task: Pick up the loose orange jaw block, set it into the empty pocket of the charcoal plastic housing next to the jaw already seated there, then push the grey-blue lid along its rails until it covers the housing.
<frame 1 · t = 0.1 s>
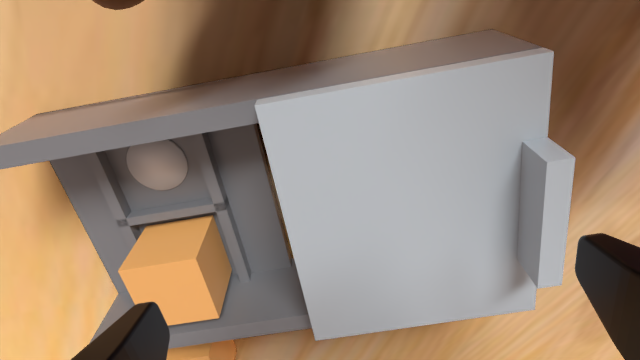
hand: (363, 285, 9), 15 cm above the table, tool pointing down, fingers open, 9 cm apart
lid: (416, 229, 18), point 7 cm above the table, slide at 12.5 cm
jaw a: (190, 248, 25), point 1 cm above the table, touching housing
housing: (179, 200, 25), on the table
jaw b: (201, 332, 30), on the table
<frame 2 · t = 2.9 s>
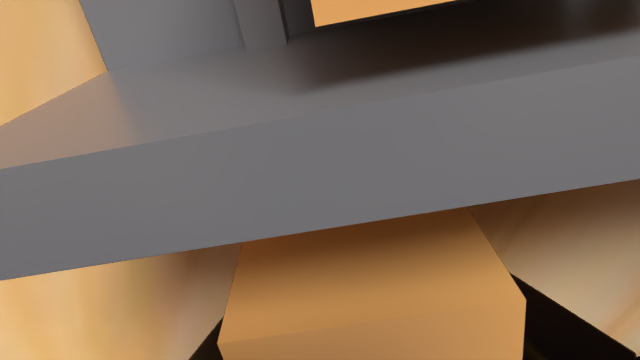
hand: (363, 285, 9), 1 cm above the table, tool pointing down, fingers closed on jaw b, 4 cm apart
jaw b: (358, 254, 10), on the table, touching gripper
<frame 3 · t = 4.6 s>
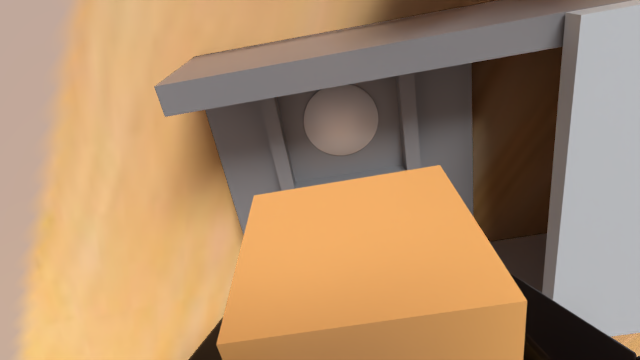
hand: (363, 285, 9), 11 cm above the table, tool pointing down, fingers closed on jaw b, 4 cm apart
housing: (348, 170, 20), on the table
jaw b: (358, 255, 10), point 10 cm above the table, touching gripper
when the fingers open (3 cm above the table, at t = 6.4 s): jaw b stays where it is, resting on housing.
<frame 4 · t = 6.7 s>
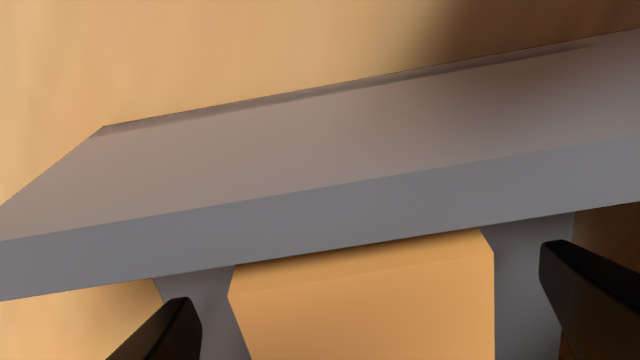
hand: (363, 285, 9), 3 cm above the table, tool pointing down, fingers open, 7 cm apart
housing: (364, 290, 13), on the table
jaw b: (354, 231, 11), point 1 cm above the table, touching housing
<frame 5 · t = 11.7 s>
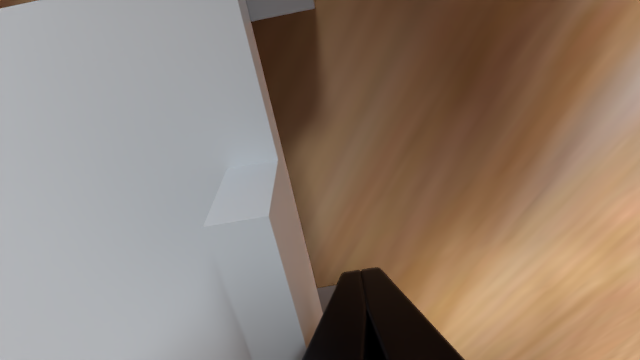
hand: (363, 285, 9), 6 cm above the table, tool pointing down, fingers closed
lid: (56, 339, 9), point 6 cm above the table, slide at 11.3 cm, touching gripper
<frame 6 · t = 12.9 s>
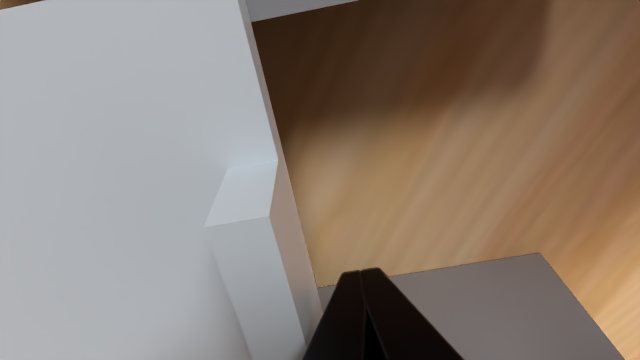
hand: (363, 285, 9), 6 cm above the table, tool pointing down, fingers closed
lid: (57, 339, 9), point 6 cm above the table, slide at 4.4 cm, touching gripper
housing: (39, 215, 15), on the table
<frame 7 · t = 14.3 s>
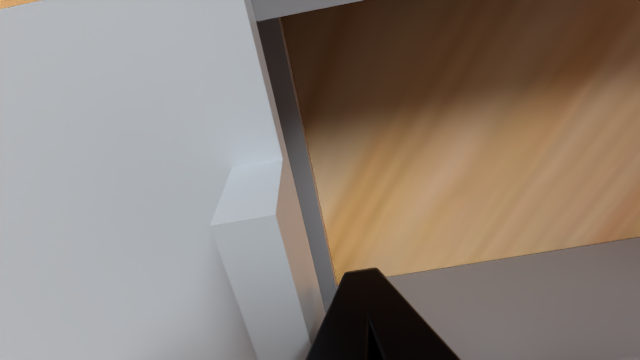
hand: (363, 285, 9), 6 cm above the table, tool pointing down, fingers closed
lid: (59, 338, 9), point 6 cm above the table, slide at 0.0 cm, touching gripper
housing: (157, 193, 15), on the table
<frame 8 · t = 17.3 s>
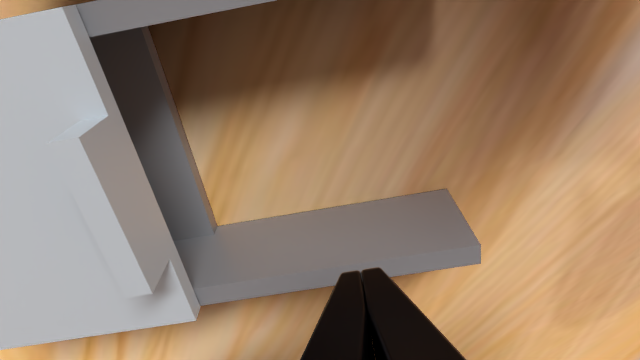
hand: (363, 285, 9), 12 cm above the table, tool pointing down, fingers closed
housing: (77, 154, 21), on the table
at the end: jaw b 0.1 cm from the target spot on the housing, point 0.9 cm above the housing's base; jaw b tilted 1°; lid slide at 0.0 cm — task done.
